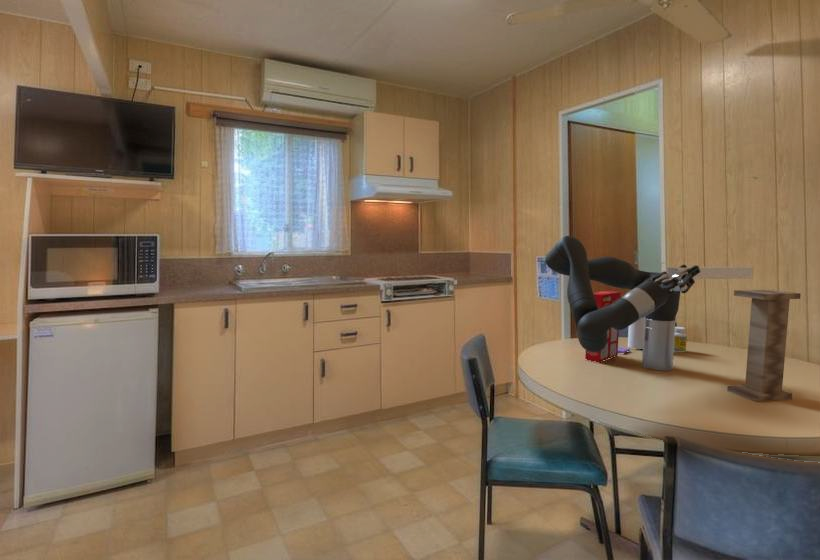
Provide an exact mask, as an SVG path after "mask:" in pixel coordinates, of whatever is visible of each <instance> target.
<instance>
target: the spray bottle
mask: <svg viewBox="0 0 820 560" xmlns="http://www.w3.org/2000/svg"><path fill="white" fill-rule="evenodd" d="M644 328H645V317H643V318H641V319H639V320H637V321H636V322H634V323H633V324H631V325H630V326H628V333H627V348H628V347H630V348H636V349H643V338H644Z"/></svg>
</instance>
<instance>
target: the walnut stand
mask: <svg viewBox="0 0 820 560" xmlns="http://www.w3.org/2000/svg"><path fill="white" fill-rule="evenodd" d="M733 296H735V297H741V298H742V297H743V298H750V299H751V301H750V303H751V304H750V316H749V329H748V343H747V357H746V369H745V381H744V382H745V383H744V384H733V385H727V388H726V391H727V392H729V393H732V394H735V395H738V396H740V397H743V398H746V399H748V400H751V401H754V402H756V403H757V402H769V401H782V400H783V401H784V400H792V397H793V393H791V392H789V391H786V390H785V391H784V390H783V385H784V384H783V383H784V382H783V381H784V370H785V360H786V358H785V357H786V347H787V334H788V321H789V311H790V301H791V300H801V293H800V292H791V291H782V290H775V289H773V290H772V289H742V290H734V291H733Z"/></svg>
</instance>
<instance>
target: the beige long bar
mask: <svg viewBox="0 0 820 560" xmlns="http://www.w3.org/2000/svg"><path fill="white" fill-rule="evenodd" d="M691 267H692V266H691ZM691 267H690V266H688V267H687V266H686V267H680V266H678V267H667V272H666V273H667V274H668V278H671V277H672V276H674V275H680V274H682V273H684V272H686V271H687V270H689V269H690V268H691ZM698 267H699V266H698ZM699 269H700V273H699V274H697V275H696V276H694V277H693V279H694V280H735V279H736V280H738V279H739V280H741V279H742V280H748V279H754V267H750V266H749V267H747V266H746V267H745V266H719V267H718V266H704V267H703V266H701V267H699ZM683 279H684V277H682V278H681V280H683Z"/></svg>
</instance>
